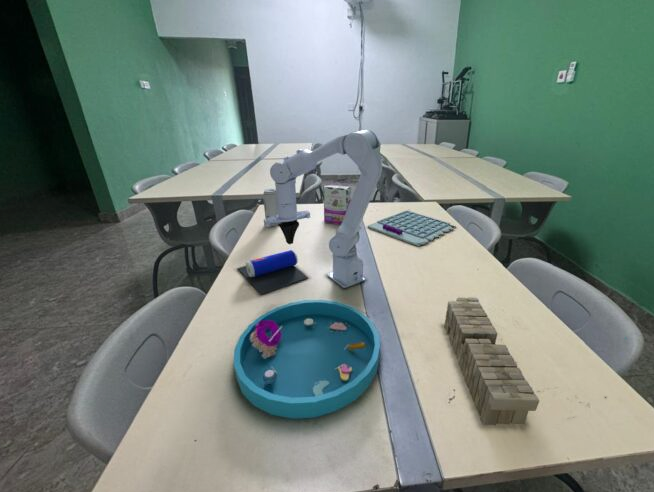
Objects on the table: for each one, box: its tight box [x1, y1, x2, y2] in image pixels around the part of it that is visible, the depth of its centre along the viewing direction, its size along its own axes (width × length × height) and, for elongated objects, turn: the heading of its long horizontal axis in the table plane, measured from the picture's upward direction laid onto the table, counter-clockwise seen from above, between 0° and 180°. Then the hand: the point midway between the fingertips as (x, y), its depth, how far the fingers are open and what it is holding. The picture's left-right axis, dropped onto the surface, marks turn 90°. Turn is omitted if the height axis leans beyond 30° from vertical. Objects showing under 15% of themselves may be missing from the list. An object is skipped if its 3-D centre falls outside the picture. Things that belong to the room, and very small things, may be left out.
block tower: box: [443, 296, 540, 426], centre depth 66 cm, size 8×8×29 cm
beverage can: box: [245, 249, 299, 277], centre depth 99 cm, size 5×5×15 cm
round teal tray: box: [233, 299, 381, 420], centre depth 68 cm, size 30×30×6 cm
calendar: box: [367, 210, 457, 248], centre depth 138 cm, size 27×29×2 cm
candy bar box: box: [322, 184, 352, 226], centre depth 138 cm, size 11×5×16 cm, turn 73°
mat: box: [237, 265, 309, 296], centre depth 99 cm, size 18×15×1 cm
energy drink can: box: [262, 188, 279, 227], centre depth 134 cm, size 6×6×15 cm
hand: (289, 242), depth 100 cm, fingers closed
